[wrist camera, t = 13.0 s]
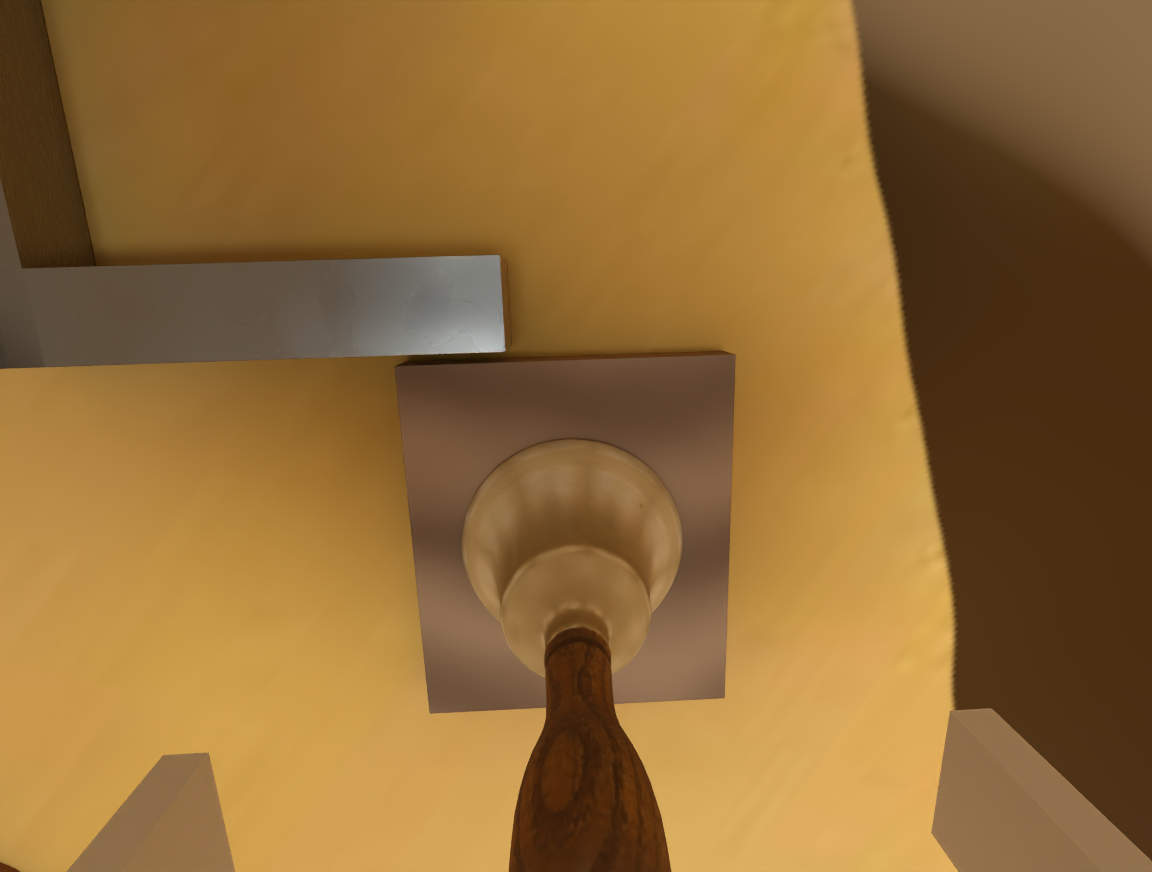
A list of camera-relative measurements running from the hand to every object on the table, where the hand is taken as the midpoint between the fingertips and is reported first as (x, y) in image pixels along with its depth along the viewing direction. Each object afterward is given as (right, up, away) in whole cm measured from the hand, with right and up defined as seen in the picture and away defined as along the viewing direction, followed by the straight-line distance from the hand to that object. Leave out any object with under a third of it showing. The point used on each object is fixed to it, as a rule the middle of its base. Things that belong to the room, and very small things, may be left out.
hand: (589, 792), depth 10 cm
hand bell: (0, +2, +12) cm, 12 cm away
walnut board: (0, +3, +13) cm, 13 cm away
